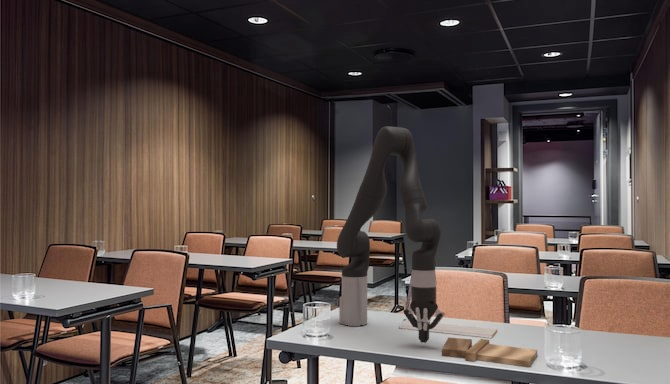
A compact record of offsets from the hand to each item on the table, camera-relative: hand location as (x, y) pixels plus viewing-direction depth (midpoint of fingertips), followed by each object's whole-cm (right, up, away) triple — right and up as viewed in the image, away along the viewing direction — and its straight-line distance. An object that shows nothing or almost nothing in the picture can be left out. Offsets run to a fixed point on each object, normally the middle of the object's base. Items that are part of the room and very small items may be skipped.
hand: (423, 342), depth 163 cm
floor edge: (+20, -1, -11) cm, 23 cm away
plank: (+6, -1, -4) cm, 7 cm away
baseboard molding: (+11, -3, +20) cm, 23 cm away
